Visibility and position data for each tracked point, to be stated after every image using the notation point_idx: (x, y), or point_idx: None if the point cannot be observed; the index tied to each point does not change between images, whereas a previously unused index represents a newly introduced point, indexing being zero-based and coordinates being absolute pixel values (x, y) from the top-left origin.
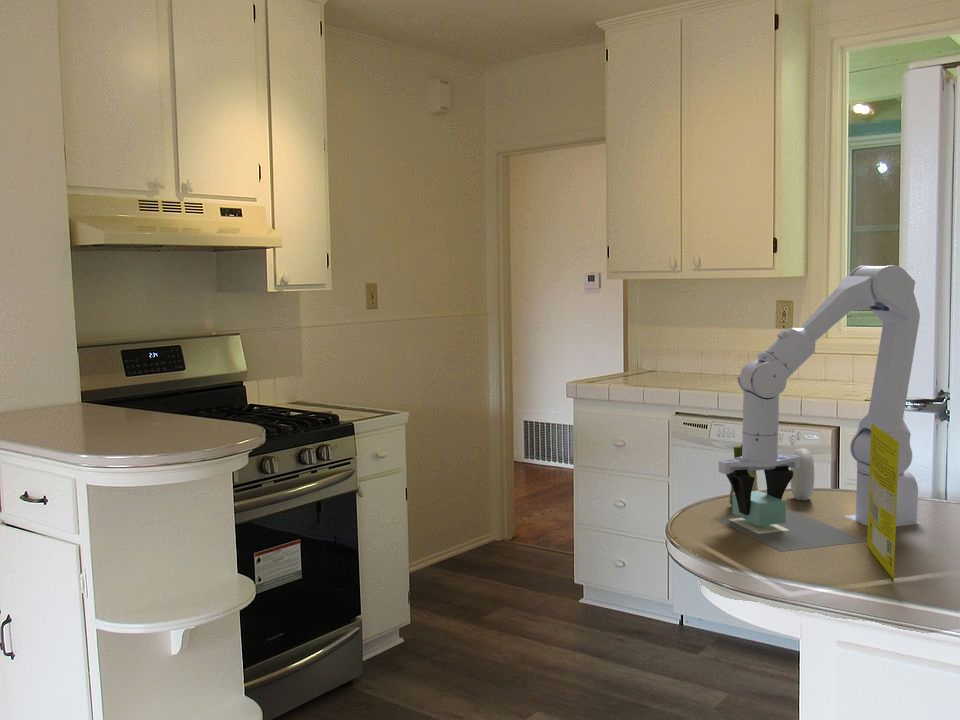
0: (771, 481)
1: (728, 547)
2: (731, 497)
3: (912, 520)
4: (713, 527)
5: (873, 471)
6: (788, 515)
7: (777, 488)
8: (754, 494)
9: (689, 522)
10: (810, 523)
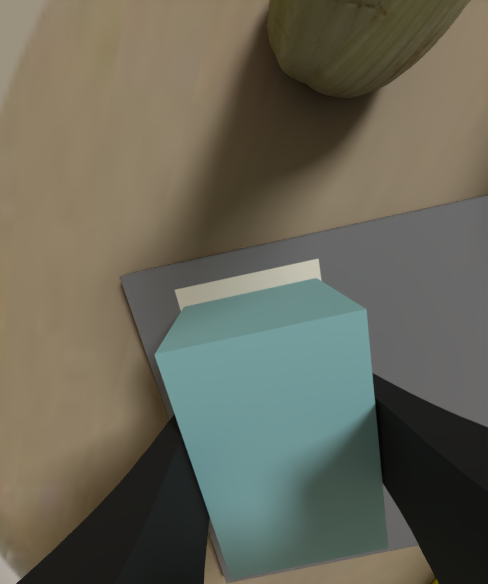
0: (466, 546)
1: None
2: (268, 18)
3: None
4: (105, 336)
5: None
6: (444, 262)
7: (431, 556)
8: (291, 405)
9: (18, 261)
10: (456, 371)
